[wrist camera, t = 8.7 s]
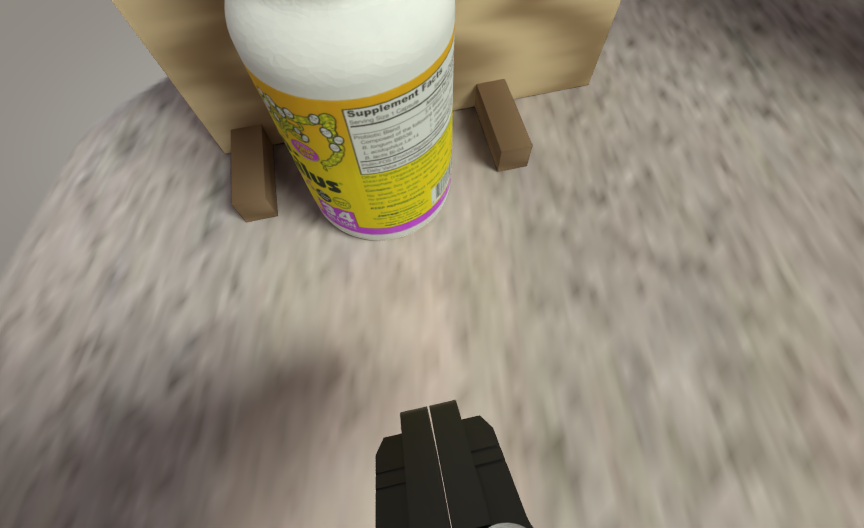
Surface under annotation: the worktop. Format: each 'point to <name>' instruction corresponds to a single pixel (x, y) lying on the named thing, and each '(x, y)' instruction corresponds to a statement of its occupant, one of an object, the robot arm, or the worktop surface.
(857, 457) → the worktop surface
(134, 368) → the worktop surface
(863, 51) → the worktop surface
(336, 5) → the supplement bottle
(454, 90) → the wall board
